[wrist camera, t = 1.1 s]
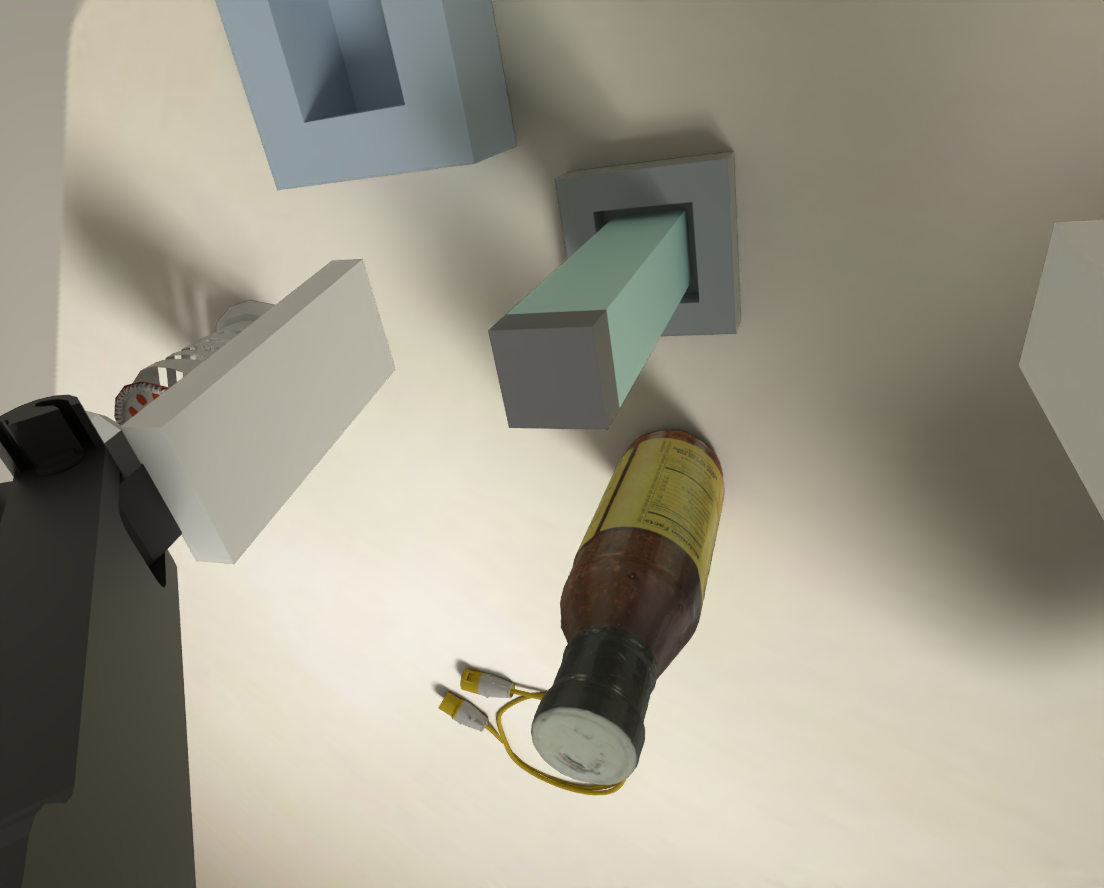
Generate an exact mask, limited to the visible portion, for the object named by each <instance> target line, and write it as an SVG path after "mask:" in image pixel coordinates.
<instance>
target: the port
mask: <svg viewBox="0 0 1104 888" xmlns="http://www.w3.org/2000/svg"><path fill="white" fill-rule="evenodd" d="M215 1H216V4H217V7H218V10H219V13H220V16H221V19H222V22H223V25H224V28H225V31H226V35H227V38H228V41H229V44H230V47H231V50H232V53H233V56H234V59H235V62H236V65H237V68H238V71H239V74H240V77H241V80H242V83H243V87H244V90H245V93H246V96H247V99H248V102H249V105H250V108H251V111H252V114H253V117H254V120H255V123H256V126H257V129H258V132H259V136H260V139H261V142H262V145H263V148H264V151H265V154H266V157H267V160H268V163H269V166H270V169H271V172H272V175H273V178H274V181H275V184H276V188H277V190H283V189H290V188H298V187H305V186H313V185H320V184H327V183H335V182H342V181H350V180H357V179H364V178H372V177H379V176H387V175H394V174H401V173H409V172H416V171H424V170H431V169H438V168H446V167H453V166H461V165H468V164H475V163H477V162H480V161H482V160H484V159H487V158H489V157H491V156H494V155H496V154H499V153H501V152H503V151H506V150H508V149H510V148H513V147H515V146H516V140H515V134H514V129H513V123H512V117H511V111H510V106H509V100H508V94H507V88H506V83H505V77H504V71H503V65H502V60H501V54H500V48H499V42H498V36H497V31H496V25H495V19H494V13H493V8H492V2H491V0H215Z"/></svg>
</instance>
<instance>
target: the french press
mask: <svg viewBox="0 0 1104 888" xmlns="http://www.w3.org/2000/svg"><path fill="white" fill-rule="evenodd" d="M274 306H275V305H272V304H267V303H262V302H257V301H251V300H250V301H247V302H243V303H240V304H237V305H233V306H230V307H229V308H228V310H227V311H226V312H225V313H224V314H223V316H222V317H221V318H220V319H219V321H218V322H217V326H216V332H214V333H212V334H211V336H207V337H204V338H202V339H200V340H198V341H197V343H195V344H192V345H189V346H187V347H185V348H184V349H182V351H180V352H176V353H173V354H171V355H170V356H168V357H166V360H162V361H159V362H156V363H154V364H152V365H150V366H148V367H147V368H145V369H143V370H141V371H140V372H139V374H138V376H137V377H136V379H135V380H134V382H133V383H132V384H129V385H126V386H124V387H123V389H122V390H121V391H120V393H119V394H118V395H117V397H116V398H115V415H114V416H115V419H116V422H117V423H116V422H115V421H113V420H111V419H110V418H108V417H106V416H103V415H100V414H96V413H92V412H88V411H86V413H87V415H88V416H89V418H90V420H91V421H92V423H93V425H94V427H95V428H96V430H97V432H98V433H99V435H100V437H101V438H102V440H103V442H104V443H105V442H107V441H108V440H109V439H110V438H112V437H113V436H114V435H115V434H117V433H118V432H119V431H121V428H120V427H121V426H122V425H123V424H124V423H126V422H127V421H128V420H130V419H131V418H132V417H133V416H135V415H136V414H137V413H138V412H140V411H141V410H142V409H144V408H145V407H146V406H147V405H149V404H150V403H151V402H152V401H154V400H155V399H156V398H158V397H159V396H160V395H161V394H163V393H164V392H165V391H166V390H168V389H169V388H170V387H172V386H173V385H174V384H175V383H177V380H176V370H177V371H180V372H183V377H184V376H186V375H187V374H188V373H189V372H191V371H192V370H193V369H195V368H196V367H197V366H198V365H200V364H201V363H202V362H203V361H205V356H209V357H210V356H211V355H212V354H214V353H215V352H216V351H218V350H219V349H220V348H221V347H223V346H224V345H225V344H226V343H228V342H229V341H230V340H232V339H233V338H234V337H235V336H237V335H238V334H239V333H240V332H242V331H243V330H244V329H246V328H247V327H248V326H249V325H251V324H252V323H253V322H254V321H256V320H257V319H258V318H260V317H261V316H262V315H263V314H265V313H266V312H267V311H269V310H270V309H271V308H272V307H274ZM205 339H211V341H210V342H204V341H205ZM206 346H210V349H211V351H206V350H204V347H206ZM190 347H196V350H190ZM174 355H181V357H182V359H175V358H174ZM190 355H196V356H197V360H191V359H190ZM158 367H163V368H166V370H167V378H168V387H165V386H161V385H160V382H159V374H158Z"/></svg>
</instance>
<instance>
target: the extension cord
mask: <svg viewBox="0 0 1104 888" xmlns="http://www.w3.org/2000/svg"><path fill="white" fill-rule="evenodd" d="M460 685H461V689H462V690H466V691H469V692H473V693H476V694H479V695H483V696H486V697H487V698H489V697H500V698H511V697H512V696H513V694H518V695H522V697H519V698H517V699H515V700H513V701H511V702H510V703H508V704H507V705H505V706H504V707H503V708H502V709H501V710H500V711H499V713H498V715H497V726H498V730H499V733H500V735H501V737H500V736H499V734H498V733H497V732H496V731H495V730H494V729H493V728H492V727H490V726H489V725H488V724H487V722H488V720H489V719H488V718H486V717H485V716H484V715H483V714H482V713H481V712H480V711H479V710H478V709H477V708H476V707H474V706H473V705H472V703H469V702H467V701H466V700H464V699H462V700H461V699H460V698H458V697H456V696H455V695H453V694H451V693H450V692H448V693H447V694H446V696H445V698H444V699H443V701H442V703H441V704H440V706H439V709H440V710H442V711H444V712H445V713H447V714H449V715H450V716H452V719H454V720H455V721H457V722H459V723H460V724H463V725H465V726H468V727H471V728H473V729H477V730H480V731H481V732H482V731H483V730H484V728H486V729H487V730H489V731H490V732H491V733H492V734H493V735H494V736H495V737H496V738H497V739H498V740H499V741H500V742H501V743H502V744H503V743H504V746H505V748H506V750H507V753H508V754H509V756H510V758H511V759H512V760H513V761H514V762H515V763H516V764H517V765H519V766H520V767H521V768H522V769H524V770H525V771H527V772H528V773H530V774H531V775H533V776H535V777H537V778H538V779H541V780H543V781H545V782H547V783H549V784H552V785H554V786H556V787H559V788H562V789H565V790H569V791H572V792H576V793H581V794H587V795H607V794H611V793H614V792H616V791H617V790H619V789H620V788H621V787H622V786H623V784H624V783H625V781H626V779H625V780H623V781H621V782H619V783H616V784H612V785H599V786H580V785H574V784H571V783H567V782H564V781H561V780H559V779H556V778H554V777H552V776H549V775H547V774H545V773H543V772H541V771H539V770H537V769H535V768H533V767H531V766H529V765H527V764H526V763H524V762H523V761H522V760H521V759H520V758H519V757H518V756H517V755H516V754H515V753H514V754H515V756H516V757H517V758H518V759H517V758H516V757H515V756H514V754H513V753H512V751H511V749H510V747H509V745H508V742H507V740H506V738H505V735H504V732H503V729H502V725H501V716H502V714H503V713H504V712H505V711H506V710H507V709H508V708H510V707H511V706H513V705H515V704H517V703H519V702H521V701H524V700H526V699H530V698H535V699H539V700H541V699H542V698H543V697H544V695H545V694H546V693H534V694H533V693H529V692H525V691H520V690H516V689H515V685H514V683H511V682H509V681H507V680H504V679H502V678H500V677H497V676H494V675H492V674H488V673H484V672H480V671H475V670H471V669H465V671H464V672H463V674H462V677H461V682H460ZM501 738H502V739H501ZM536 772H537V773H536ZM538 773H539V774H538ZM540 774H541V775H540ZM542 775H543V776H542ZM544 776H545V777H544ZM546 777H547V778H546ZM548 778H549V779H548ZM551 779H552V780H551ZM553 780H554V781H553ZM555 781H556V782H555ZM614 786H615V787H614ZM610 787H613V788H611V789H608V790H602V789H607V788H610ZM593 790H602V791H593Z"/></svg>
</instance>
